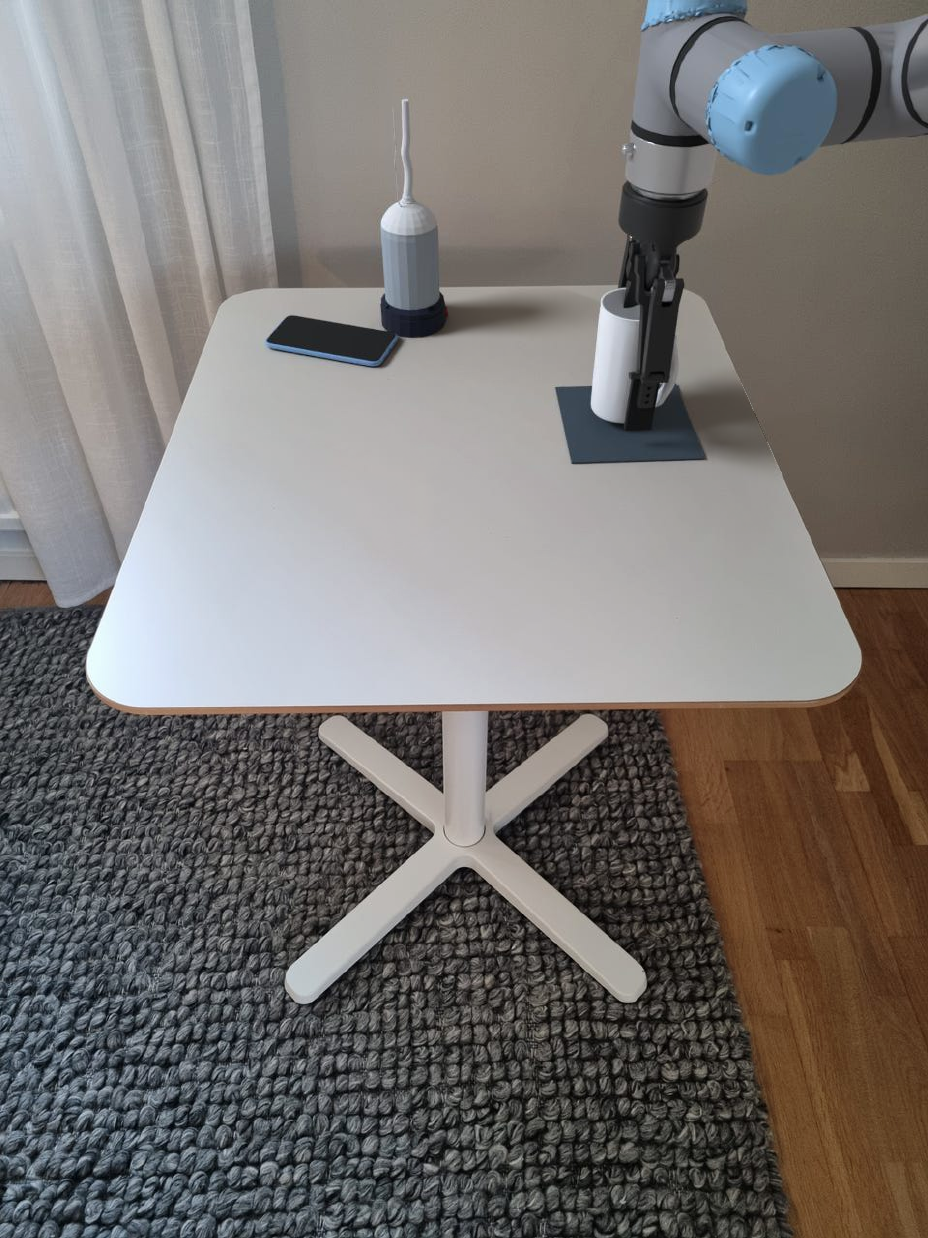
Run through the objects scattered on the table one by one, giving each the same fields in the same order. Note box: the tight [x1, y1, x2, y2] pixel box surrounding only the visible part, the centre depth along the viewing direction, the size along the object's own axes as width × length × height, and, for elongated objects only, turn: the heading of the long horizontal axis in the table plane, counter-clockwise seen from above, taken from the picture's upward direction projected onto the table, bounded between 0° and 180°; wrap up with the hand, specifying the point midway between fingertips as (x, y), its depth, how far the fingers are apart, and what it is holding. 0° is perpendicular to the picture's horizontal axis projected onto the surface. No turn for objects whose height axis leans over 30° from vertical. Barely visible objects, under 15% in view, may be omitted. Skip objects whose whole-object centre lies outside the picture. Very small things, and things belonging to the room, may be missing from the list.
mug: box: [591, 288, 679, 423], centre depth 89 cm, size 10×7×12 cm, turn 37°
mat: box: [554, 382, 706, 465], centre depth 95 cm, size 14×14×1 cm
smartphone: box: [265, 314, 398, 367], centre depth 106 cm, size 7×1×15 cm
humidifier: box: [379, 98, 449, 339], centre depth 101 cm, size 8×8×25 cm
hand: (629, 403), depth 93 cm, fingers closed on mug, 8 cm apart
